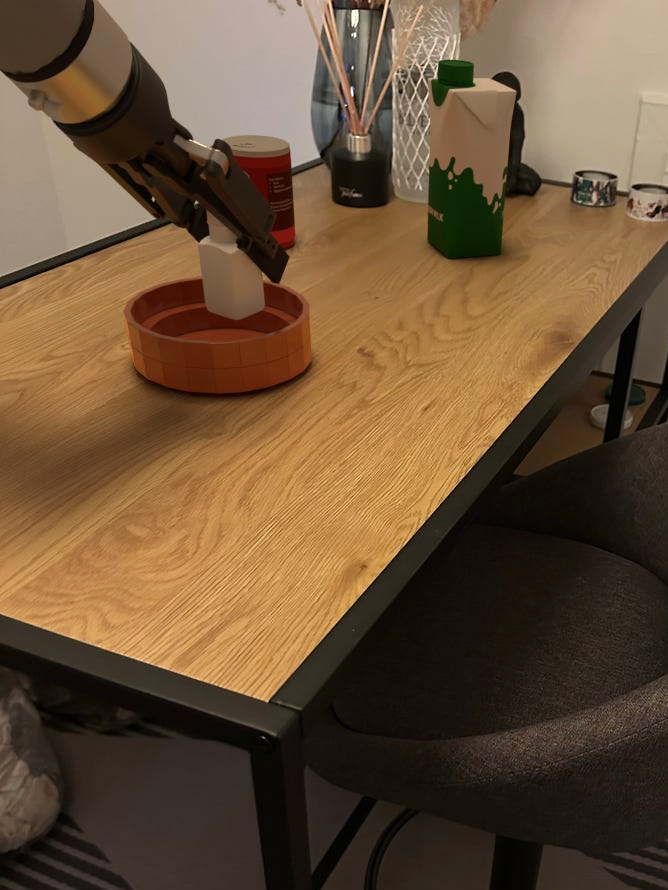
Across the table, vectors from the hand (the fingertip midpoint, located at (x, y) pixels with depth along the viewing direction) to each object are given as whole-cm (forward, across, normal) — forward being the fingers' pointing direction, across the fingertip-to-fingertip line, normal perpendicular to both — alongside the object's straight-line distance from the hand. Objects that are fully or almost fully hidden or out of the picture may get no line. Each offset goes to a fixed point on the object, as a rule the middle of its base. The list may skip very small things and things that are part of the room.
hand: (257, 263), depth 85 cm
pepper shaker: (0, 0, -5) cm, 5 cm away
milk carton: (+34, +2, +22) cm, 40 cm away
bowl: (+3, -2, -8) cm, 9 cm away
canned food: (+24, -19, +13) cm, 33 cm away
